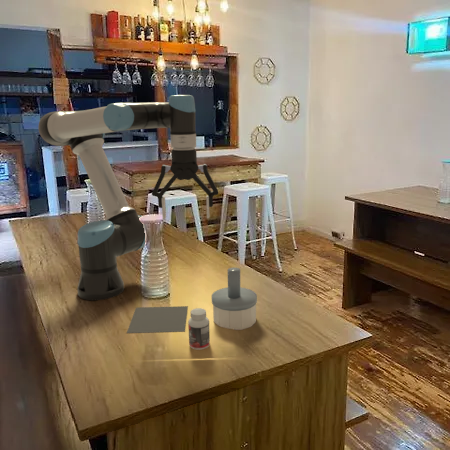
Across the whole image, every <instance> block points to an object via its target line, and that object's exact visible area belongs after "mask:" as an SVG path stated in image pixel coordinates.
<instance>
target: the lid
mask: <svg viewBox="0 0 450 450" xmlns="http://www.w3.org/2000/svg"><path fill="white" fill-rule="evenodd" d="M211 303H212V305H214V306H215V307H217V308H219V309H222V310H228V311H240V310H246V309H249V308H251V307H253V306H254V305H255V304H256V305H257V303H258V295H257V293H256V292H255V291H253V290H252V289H249V288H246V287H242V286H241V268H239V267H229V268H228V269H227V287H223V288H220V289H216V291H214V292H213V293H212V294H211Z"/></svg>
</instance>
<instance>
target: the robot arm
mask: <svg viewBox="0 0 450 450" xmlns="http://www.w3.org/2000/svg"><path fill="white" fill-rule="evenodd" d="M196 112H197V110H196V103H195V97H194V96H193V95H192V94H191V95H190V94H175V95H173V94H172V95H169V97H168V102H167V101H166V102H159V101H158V102H154V101H151V102H149V101H148V102H115V103H114V102H113V103H109V104H107V106H100V107H96V108H92V109H85V110H84V109H82V110H81V109H80V110H68V111H67V110H65V111H63V110H61V111H59V110H58V111H57V110H56V111H51V112H48V113H46V114H44V115H43V116H42V117H41V118H40V120H39V122H38V126H37V127H38V133H39V134H40V137H41V138H42V139H43V141H44V142H46V144H47V143H48V144H50V145H51V146H58V147H64V146H65V147H66V146H70V149H71V151H72V153H73V154H74V155H77V156H78V157H80V158H79V159H80V161H81V162H82V165H83V167H84V169H85V171H86V173H87V176H88V179H89V181H90V183H91V186H92V188H93V189H94V191H95V194H96V196H97V198H98V201H99V203H100V205H101V207H102V209H103V212H104V214H105V219H104V220H97V221H96V220H94V221H91V222H87V223H85V224H84V225H81V226H80V228H79V229H78V230H77V242H76V243H77V246H78V254H79V256H78V257H79V264H80V275H79V280H78V285H77V295H78V297H79V299H80V298H81V299H82V300H87V301H100V300H101V301H102V300H107V299H110V298H114V297H117V296H119V295H120V294H122V293H123V292H124V290H125V283H124V280H123V277H122V275H121V273H120V272H119V271H120V270H119V269H118V264H117V258H118V257H120V256H123V255H125V254H126V255H127V254H129V253H131V252H135V251H138V250H140V249H142V248H144V247H145V246H144V244H145V233H144V228H143V224H142V223H141V222H140V221H139V218H140V217H142V216H143V215H139V214H138V212H137V211H136V209H135V208H133V207H131V206H130V205H129V203H128V201H127V199H126V197H125V194H124V193H123V190H122V188H121V186H120V183H119V181H118V179H117V176H116V175H115V172H114V170H113V169H112V168H113V167H112V165H111V163H110V161H109V159H108V157H107V155H106V152H105V150H104V147H103V146H104V143H105V135H106V134H108V133H115V132H123V131H124V132H125V131H133V130H145V129H146V130H148V129H158V128H159V129H164V128H165V129H169V131H170V147H171V148H172V150H170V154H171V155H170V156H171V158H170V159H171V165H166V164H162V166H161V167H160V173H159V176H158V179H157V181H156V183H155V185H154V188H153V189H152V192H151V195H152V197H155V198H156V197H157V202H158V205H157V206H158V208H159V209H162V210H161V211H162V212H161V213H162V220H166V218H167V210H166V196H164V194H166V192H167V191H168V189H170V187H171V186H172V185H173V183H175V181H176V180H179V181H184V180H187V181H190V180H192V179H193V181H195V183H197V185H198V186H199V187H200V188H201V189H202V190H203V192H204V193H205V194H206V219H210V208H213V206H214V203H213V202H214V198H213V197H214V196H218V195H219V189H218V187H217V185H216V184H215V182H214V180H213V178H212V176H211V174H210V172H209V171H208V165H207V164H206V163H203V164H200V165H199V164H198V161H197V159H198V158H197V156H198V155H197V149H196V147H197V133H196V132H197V131H196ZM199 170H200V172H201V173H203V174H204V177H205V178H206V180H207V182H208V184H209V186H210V188H211V189H210V188H209V187H208V186H207V185H206V184H205V183H204V182H203V180H202V179H201V178H200V177H199V176H198V175H197V174H196V173H198V171H199ZM169 171H171V172H172V174H173V175H172V176H171V178H170V179H169V180H168V181H167V183H166V184H165V185H164V187H162V189H161V190H160V191H159V189H160V187H161V185H162V182H163V180H164V178H165V175H166V174H167V173H168V172H169Z"/></svg>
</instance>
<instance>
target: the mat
mask: <svg viewBox="0 0 450 450" xmlns="http://www.w3.org/2000/svg"><path fill="white" fill-rule="evenodd" d="M188 309H189V306H188V305H187V306H183V305H182V306H146V307H144V306H143V307H142V306H141V307H135V309H134V311H133V315H132V317H131V320H130V323H129V326H128V328H127V331H126V334H149V333H153V334H154V333H183V332H184V333H185V332H186V326H187V325H186V324H187V318H188V311H189V310H188Z"/></svg>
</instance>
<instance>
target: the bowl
mask: <svg viewBox="0 0 450 450" xmlns="http://www.w3.org/2000/svg"><path fill="white" fill-rule="evenodd" d="M212 305H213V304H212ZM212 311H213V312H212V313H213V317H212V319H213V323H214V324H216V325H217V327H221V328H224V329H228V330H234V331H242V330H245V329H249V328H251V327H252V326H254V324H256V323H257V303H256V304H255V305H254V306H253V307H251V308H249V309H246V310H240V311H228V310H222V309H219V308H217V307H215V306H214V305H213V307H212Z"/></svg>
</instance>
